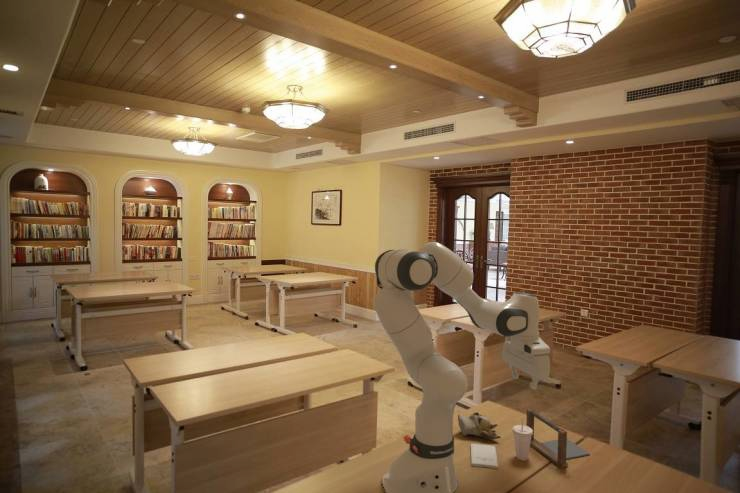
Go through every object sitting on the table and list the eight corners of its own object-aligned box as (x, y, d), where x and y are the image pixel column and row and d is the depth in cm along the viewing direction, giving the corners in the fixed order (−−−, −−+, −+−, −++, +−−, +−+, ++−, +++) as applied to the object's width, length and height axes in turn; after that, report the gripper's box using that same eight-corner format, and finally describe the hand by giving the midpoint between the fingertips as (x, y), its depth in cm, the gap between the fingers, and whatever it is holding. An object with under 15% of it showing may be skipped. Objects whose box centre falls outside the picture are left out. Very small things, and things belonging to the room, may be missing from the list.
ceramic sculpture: (457, 404, 169) (498, 409, 167) (455, 426, 170) (496, 431, 168) (458, 417, 159) (502, 422, 157) (456, 440, 160) (500, 446, 157)
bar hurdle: (559, 468, 142) (560, 432, 141) (524, 440, 159) (525, 408, 158) (567, 466, 143) (568, 431, 142) (531, 439, 160) (532, 407, 159)
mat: (562, 460, 146) (562, 458, 146) (540, 444, 157) (540, 442, 157) (589, 455, 150) (589, 453, 150) (566, 439, 160) (566, 437, 160)
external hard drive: (495, 450, 154) (497, 470, 142) (470, 447, 156) (471, 467, 143) (495, 445, 154) (498, 465, 142) (470, 443, 155) (471, 462, 143)
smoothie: (509, 458, 147) (510, 417, 147) (515, 450, 153) (516, 410, 152) (529, 464, 144) (530, 422, 143) (534, 456, 149) (535, 415, 148)
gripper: (497, 334, 155) (497, 373, 156) (536, 351, 135) (535, 396, 136) (513, 333, 156) (513, 371, 157) (554, 349, 137) (553, 393, 138)
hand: (523, 383), depth 147 cm, fingers open, 8 cm apart
